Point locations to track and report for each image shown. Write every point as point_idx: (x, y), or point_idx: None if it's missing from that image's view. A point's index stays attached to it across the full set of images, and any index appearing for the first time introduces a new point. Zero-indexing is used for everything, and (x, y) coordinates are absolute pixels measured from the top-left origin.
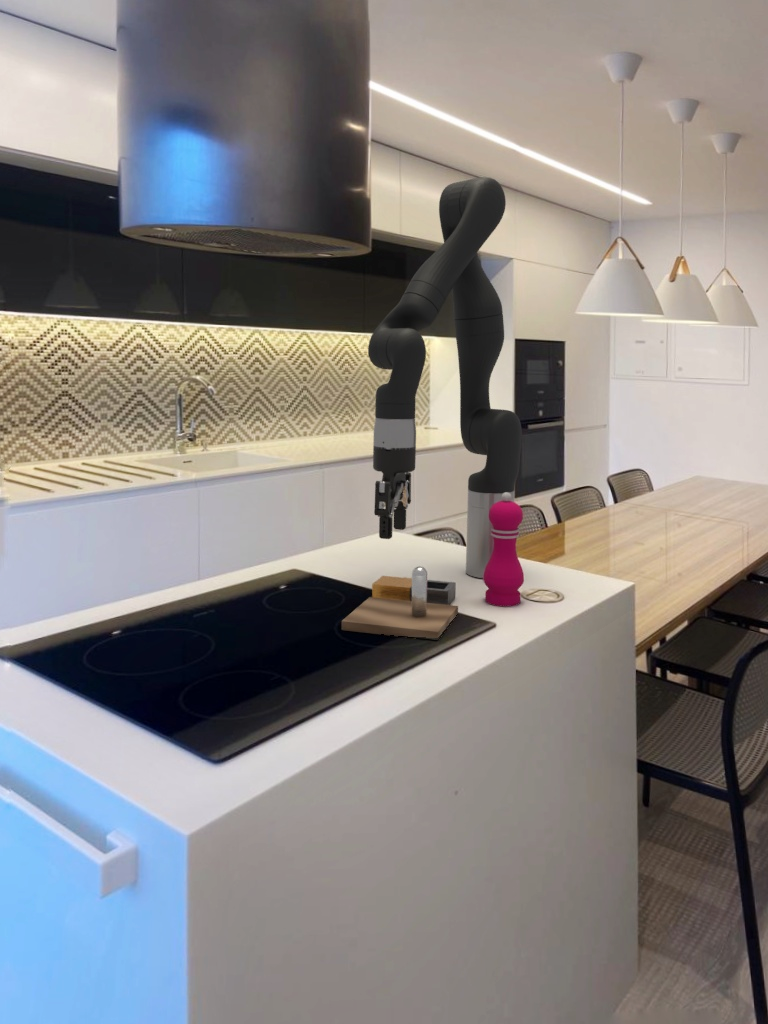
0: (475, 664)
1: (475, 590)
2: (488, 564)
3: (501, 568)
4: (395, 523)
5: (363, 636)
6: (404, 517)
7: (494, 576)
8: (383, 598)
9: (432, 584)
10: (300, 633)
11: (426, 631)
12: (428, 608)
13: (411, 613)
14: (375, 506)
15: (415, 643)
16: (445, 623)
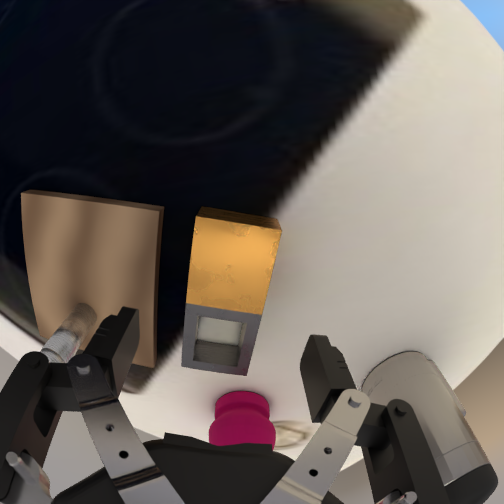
0: (17, 356)
1: (300, 376)
2: (232, 442)
3: None
4: (314, 351)
5: (21, 230)
6: (308, 397)
7: (212, 435)
8: (155, 243)
9: (243, 337)
10: (10, 130)
11: (37, 322)
12: None
13: (80, 304)
14: (11, 380)
15: (28, 302)
16: None
